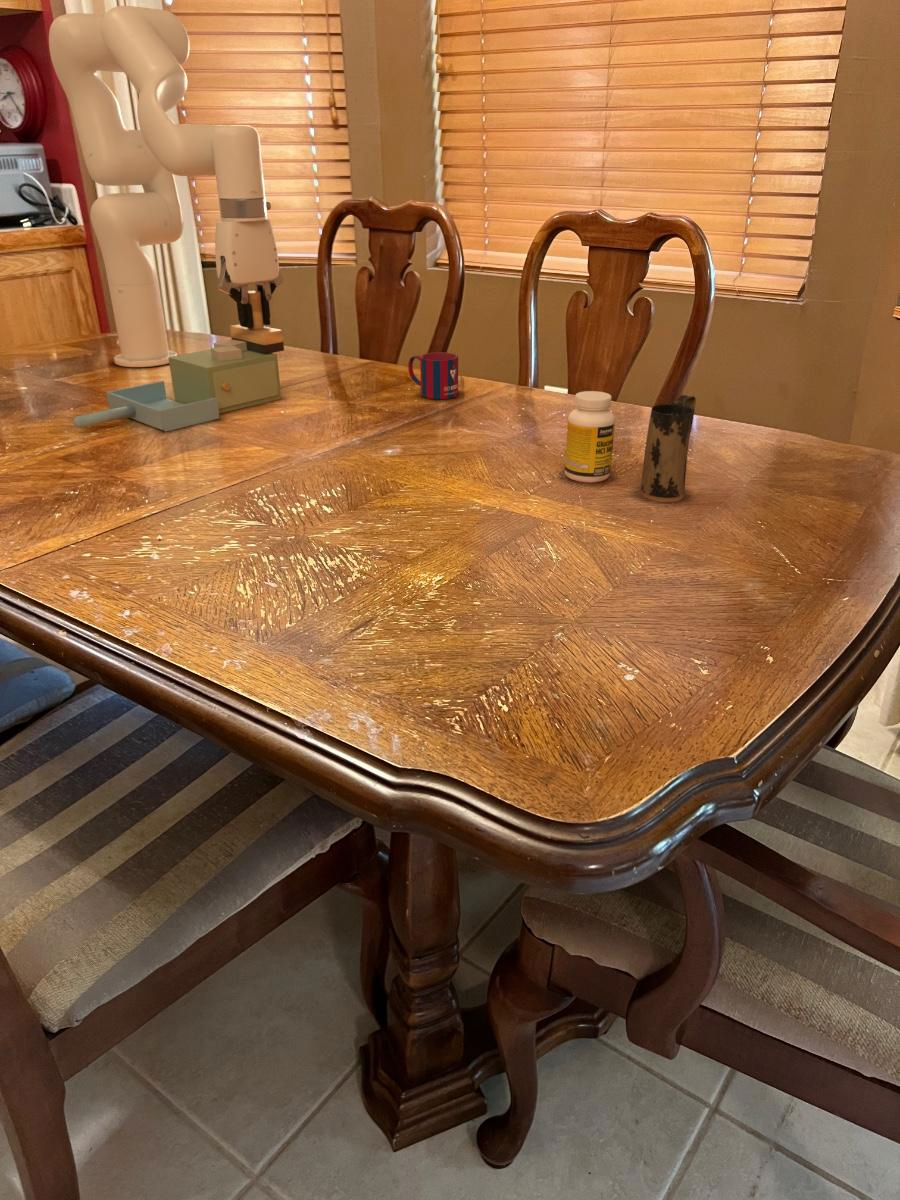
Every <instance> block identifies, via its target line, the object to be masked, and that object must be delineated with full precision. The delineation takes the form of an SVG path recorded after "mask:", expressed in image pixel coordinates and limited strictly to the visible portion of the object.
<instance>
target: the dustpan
mask: <svg viewBox="0 0 900 1200" xmlns="http://www.w3.org/2000/svg"><path fill="white" fill-rule="evenodd" d="M105 393H106V399H107V404H108V409H104V410H101V411H96V412H92V413H86V414H82V415H77V416H74V418H73V419H72V423H73V425H74V426H75V427H76V428H78V429H83V428H87V427H92V426H97V425H100V424H105V423H110V422H114V421H118V420H122V419H123V420H124V419H128V418H129V419H131V420H134V421H137V422H139V423H142V424H144V425H147V426H149V427H153V429H156V430H160V431H162V432H164V433H165V432H170V431H174V430H178V429H183V428H186V427H190V426H194V425H199V424H203V423H207V422H211V421H215V420H219V419H220V414H219V410H218V403H217V398H212V399H207V400H203V401H198V402H194V403H189V404H182V403H179V402H176V401H175V400H173V399H170V398H168V397H167V392H166V385H165V381H164V380H160V381H155V382H150V383H145V384H140V385H133V386H130V387H125V388H119V389H115V390H110V391H106V392H105Z"/></svg>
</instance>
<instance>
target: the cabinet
mask: <svg viewBox="0 0 900 1200" xmlns="http://www.w3.org/2000/svg"><path fill="white" fill-rule="evenodd" d="M168 358H169V363H168V364H169V371H170V377H171V383H172V389H173V390H172V391H173V396H174V401H176V402H179V403H182V404H189V403H194V402H198V401H203V400H207V399H212V398H217V403H218V410H219V415H221V414H225V413H228V412H232V411H235V410H241V409H244V408H248V407H249V408H250V407H253V406H257V405H261V404H265V403H270V402H274V401H279V400H282V391H281V390H282V389H281V383H280V381H281V380H280V372H279V370H280V369H279V360H278V354H277V353H269V354H263V353H259V352H255V351H251V350H247V351H243V352H242V359H235V360H227V361H218V360H216V359H215V358H213V357H212V353H211V348H210V349H207V350H201V351H200V350H199V351H195V352H190V353H184V354H183V353H182V354H177V356H172V357H168Z"/></svg>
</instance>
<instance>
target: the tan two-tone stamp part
mask: <svg viewBox="0 0 900 1200" xmlns="http://www.w3.org/2000/svg"><path fill="white" fill-rule="evenodd" d="M248 303H249V304H251V306H252V314H253V324H254V326H253V328H247V327H243V326H241V325H240V323H238V324H234V325H229V331H230V337H231V338H230V339H231V340H238V341H244V342H246V344H247V350H251V351H255V352H259V353H263V354H269V353H273V354H275V353H279V352H283V351H285V345H284V344H285V343H284V334H283V330H282V329H279V328H273V327H270V326H266V325H264V324H263V314H262V304H261V294H260V291H256V290H248Z"/></svg>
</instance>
